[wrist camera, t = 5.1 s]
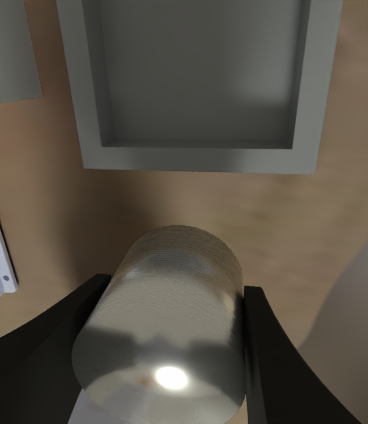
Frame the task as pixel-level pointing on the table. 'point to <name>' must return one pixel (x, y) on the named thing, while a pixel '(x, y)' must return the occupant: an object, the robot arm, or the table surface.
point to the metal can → (168, 333)
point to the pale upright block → (17, 54)
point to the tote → (200, 82)
